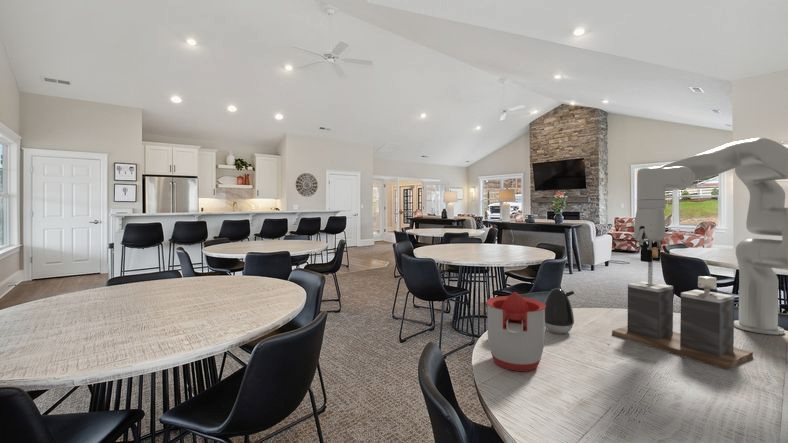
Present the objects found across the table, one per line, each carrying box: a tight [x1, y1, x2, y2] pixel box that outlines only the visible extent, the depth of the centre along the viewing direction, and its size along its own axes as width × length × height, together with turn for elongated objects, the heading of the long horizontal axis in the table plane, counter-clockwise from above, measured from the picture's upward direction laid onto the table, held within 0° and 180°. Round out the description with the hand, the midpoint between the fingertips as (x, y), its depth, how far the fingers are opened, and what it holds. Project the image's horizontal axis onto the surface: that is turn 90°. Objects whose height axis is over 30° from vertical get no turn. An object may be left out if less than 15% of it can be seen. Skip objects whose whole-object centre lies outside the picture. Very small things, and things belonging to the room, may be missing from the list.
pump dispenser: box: [543, 287, 575, 335], centre depth 123 cm, size 10×10×15 cm
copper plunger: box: [647, 247, 658, 286], centre depth 115 cm, size 7×7×20 cm
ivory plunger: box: [697, 275, 718, 295], centre depth 102 cm, size 7×7×20 cm
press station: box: [611, 280, 754, 370], centre depth 109 cm, size 16×30×18 cm, turn 27°
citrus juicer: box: [485, 291, 546, 372], centre depth 97 cm, size 16×17×20 cm
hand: (650, 260), depth 115 cm, fingers closed on copper plunger, 4 cm apart
